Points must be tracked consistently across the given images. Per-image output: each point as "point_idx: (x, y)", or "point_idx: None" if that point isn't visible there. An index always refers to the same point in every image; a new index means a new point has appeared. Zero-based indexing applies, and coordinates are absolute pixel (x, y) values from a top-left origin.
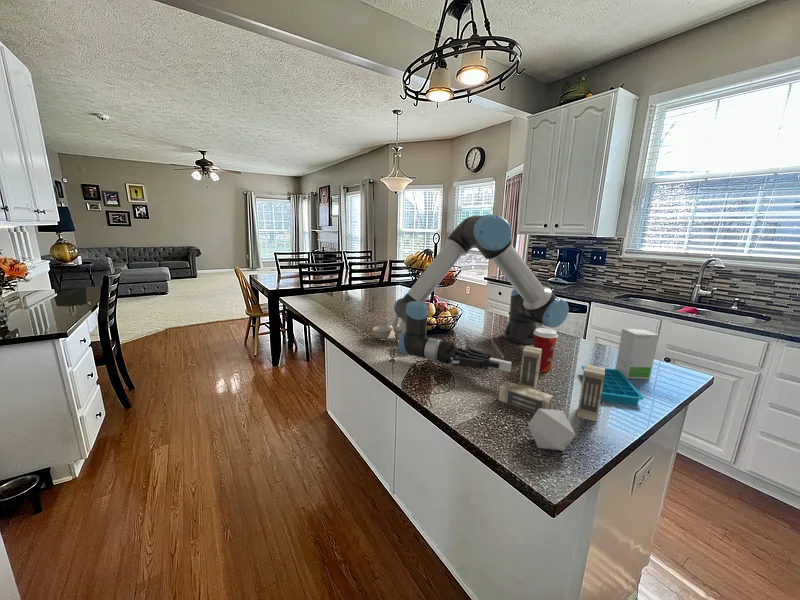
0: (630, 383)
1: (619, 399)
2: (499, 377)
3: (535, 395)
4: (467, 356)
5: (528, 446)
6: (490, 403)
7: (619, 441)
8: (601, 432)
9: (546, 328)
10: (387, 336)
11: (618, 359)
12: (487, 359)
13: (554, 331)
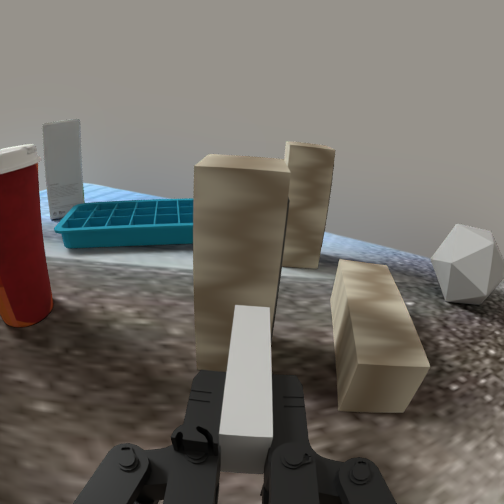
0: (140, 200)
1: None
2: None
3: (380, 284)
4: None
5: (491, 314)
6: (446, 422)
7: (350, 241)
8: (344, 251)
9: None
10: None
11: (52, 191)
12: (291, 450)
13: (9, 147)
